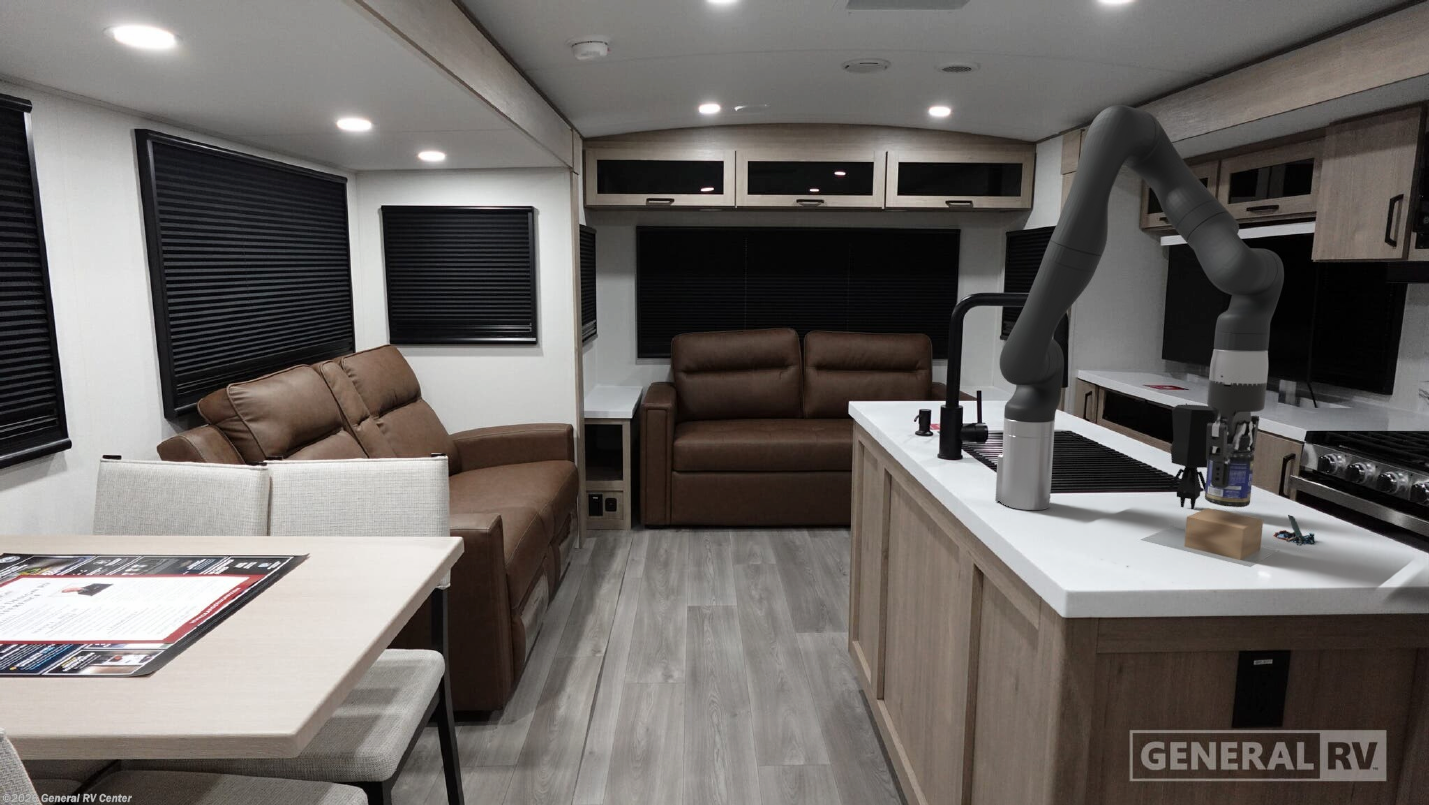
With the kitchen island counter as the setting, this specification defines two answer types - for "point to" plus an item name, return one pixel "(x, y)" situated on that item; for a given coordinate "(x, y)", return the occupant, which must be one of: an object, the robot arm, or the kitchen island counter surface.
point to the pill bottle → (1233, 478)
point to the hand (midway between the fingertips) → (1228, 483)
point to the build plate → (1176, 540)
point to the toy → (1190, 448)
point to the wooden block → (1223, 533)
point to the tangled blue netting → (1295, 534)
